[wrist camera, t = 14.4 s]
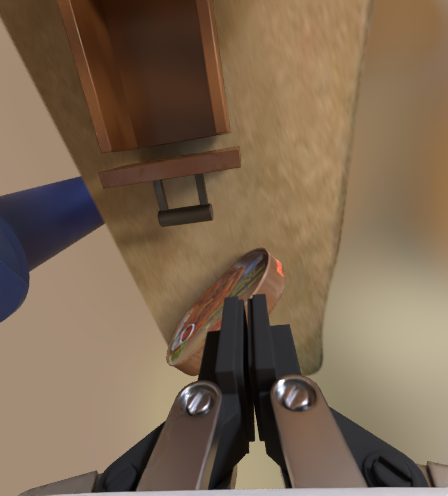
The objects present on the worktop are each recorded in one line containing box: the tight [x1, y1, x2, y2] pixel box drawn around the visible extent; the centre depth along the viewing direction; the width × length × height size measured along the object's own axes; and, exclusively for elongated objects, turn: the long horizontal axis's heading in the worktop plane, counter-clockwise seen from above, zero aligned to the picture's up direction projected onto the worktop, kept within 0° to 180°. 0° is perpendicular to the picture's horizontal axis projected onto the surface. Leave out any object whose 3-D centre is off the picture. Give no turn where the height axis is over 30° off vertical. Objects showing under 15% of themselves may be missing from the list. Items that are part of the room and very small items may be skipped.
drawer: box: [57, 0, 241, 227], centre depth 22 cm, size 20×10×7 cm, turn 9°
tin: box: [166, 248, 286, 376], centre depth 28 cm, size 15×3×8 cm, turn 138°
